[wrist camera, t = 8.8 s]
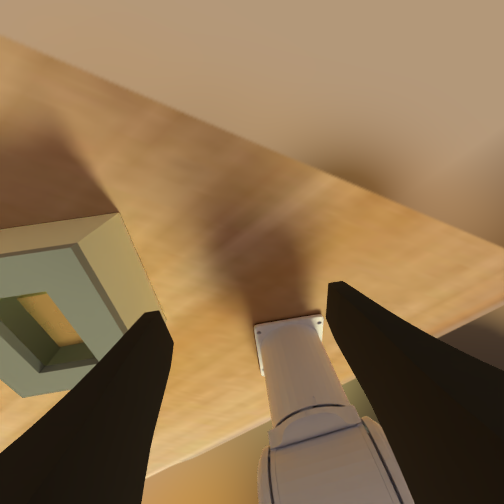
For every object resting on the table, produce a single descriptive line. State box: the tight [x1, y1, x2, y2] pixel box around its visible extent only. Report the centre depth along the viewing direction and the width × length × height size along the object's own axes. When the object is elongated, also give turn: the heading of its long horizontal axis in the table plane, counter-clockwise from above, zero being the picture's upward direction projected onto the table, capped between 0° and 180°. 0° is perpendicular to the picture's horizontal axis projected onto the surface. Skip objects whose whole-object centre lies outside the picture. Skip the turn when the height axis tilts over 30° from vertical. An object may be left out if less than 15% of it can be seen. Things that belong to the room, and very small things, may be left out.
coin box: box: [0, 213, 167, 398], centre depth 17 cm, size 12×10×6 cm
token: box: [17, 291, 84, 347], centre depth 17 cm, size 5×2×4 cm, turn 8°
